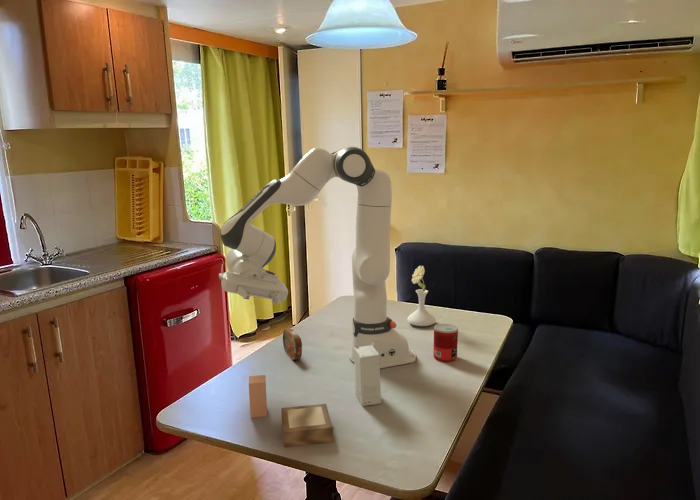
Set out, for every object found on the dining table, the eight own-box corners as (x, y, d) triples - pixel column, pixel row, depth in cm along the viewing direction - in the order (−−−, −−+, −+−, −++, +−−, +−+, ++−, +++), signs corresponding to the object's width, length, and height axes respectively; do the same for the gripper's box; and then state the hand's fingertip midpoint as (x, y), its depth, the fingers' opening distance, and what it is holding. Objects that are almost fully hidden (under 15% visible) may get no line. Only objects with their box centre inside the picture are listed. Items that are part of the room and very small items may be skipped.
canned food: (456, 363, 176) (458, 332, 173) (432, 361, 177) (433, 330, 175) (457, 354, 183) (458, 324, 181) (433, 352, 185) (434, 322, 182)
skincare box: (381, 404, 149) (381, 355, 146) (360, 407, 148) (360, 357, 145) (373, 390, 157) (373, 344, 154) (353, 393, 156) (353, 346, 153)
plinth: (326, 417, 143) (326, 403, 142) (332, 441, 131) (332, 426, 130) (281, 421, 141) (281, 407, 140) (284, 447, 129) (283, 431, 128)
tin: (282, 348, 190) (281, 325, 189) (290, 346, 191) (290, 324, 190) (295, 364, 177) (294, 340, 175) (303, 362, 178) (303, 338, 176)
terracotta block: (266, 408, 148) (265, 374, 146) (267, 416, 144) (265, 382, 142) (250, 409, 147) (248, 376, 145) (250, 417, 143) (248, 383, 141)
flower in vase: (407, 318, 219) (408, 260, 214) (435, 319, 218) (436, 260, 213) (406, 329, 207) (407, 267, 202) (435, 330, 205) (437, 268, 200)
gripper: (220, 262, 157) (232, 284, 146) (281, 274, 168) (296, 295, 157) (213, 281, 159) (224, 303, 147) (274, 292, 170) (289, 313, 158)
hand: (262, 299), depth 152 cm, fingers open, 8 cm apart
